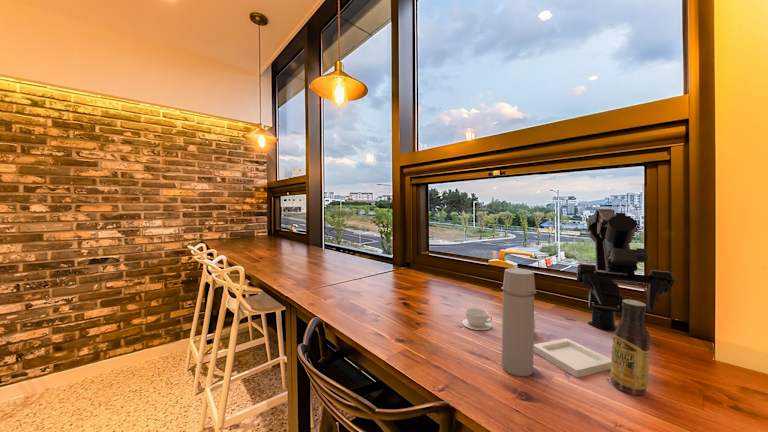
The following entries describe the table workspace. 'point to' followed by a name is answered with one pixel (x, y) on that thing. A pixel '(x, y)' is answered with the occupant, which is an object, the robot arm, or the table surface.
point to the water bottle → (518, 321)
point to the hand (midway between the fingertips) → (625, 307)
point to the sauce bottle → (631, 350)
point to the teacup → (477, 319)
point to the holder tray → (572, 357)
